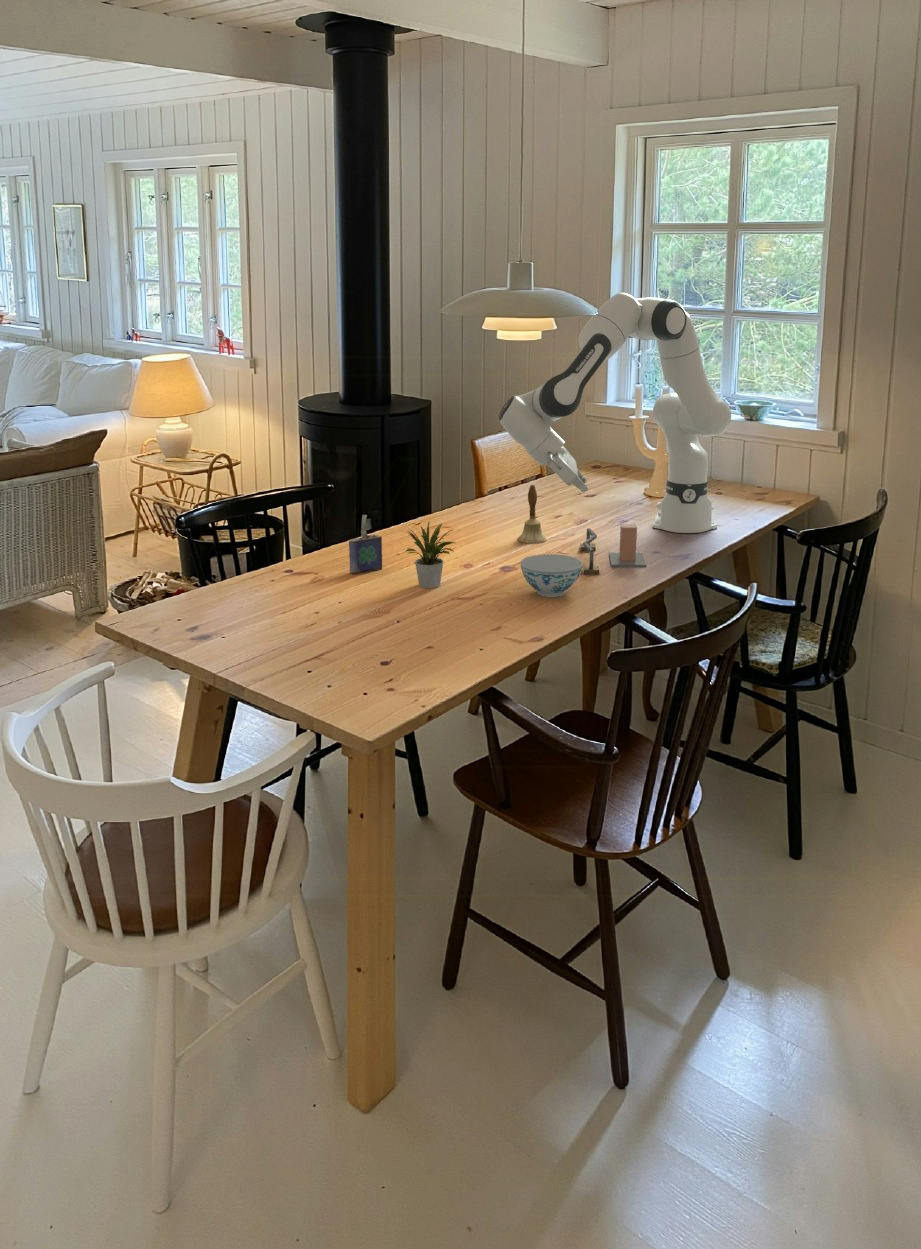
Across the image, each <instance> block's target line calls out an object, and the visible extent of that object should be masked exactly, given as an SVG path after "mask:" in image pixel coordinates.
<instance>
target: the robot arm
mask: <svg viewBox="0 0 921 1249" xmlns="http://www.w3.org/2000/svg"><path fill="white" fill-rule="evenodd" d="M596 311H597V312H598V314H596V315H594V314H592V315H591V317H590V318H589V319H588V320H587V321H586V323H585V325H584V326H583V328H582V330H581V331H580V334H579V336H578V339H577V340H578V346H579V349H580V351H579V352H578V353H577V355H576V356H575V357H574V358H573V360H572V361H571V362H570V364H569V365H568V366H567V367H566V369H565V370H564V371H563V372H561V373H560V374H557V375H555V376H552V377H550V379H549V380H547V381H546V382H545V383H543V384H542V385H540V386H539V387H537V388H535V389H533V390H531V391H528V392H526V393H523V394H519V395H513V396H511V397H510V398H508V400H507V401H506V402H505V404H503V406H502V408H501V409H500V412H499V415H498V421H499V423H500V424H501V426H502V427H503V429H504V430H505V432H507V434H508V435H510V437H511V438H512V439H513V440H514V442H516V443H518V444H520V445H521V446H522V447H523V448H524V449H525V452H526V453H527V454H528V455H529V456H530V457H531V459H533V460H534V461H535V462H536V463H537V464H538V465H539V466H540V467H543V466H545V465H546V466H547V467H548V468H551V469H552V471H553V472H554V474H556V475H557V476H558V477H559V478H560V480H562V481H563V482H564V483H565V485H567V486H571V485H573V486H574V487H576V488H577V489H579V491H580V492H581V493H583V494H585V493H586V492H587V491H588V490H589V487H588V485H587V484H586V483H587V479H586V478H587V477H585V476H584V475H583V474H582V472H581V471H580V470H579V469H578V465H577V461H576V459H575V458H574V457H573V455H572V454H571V453H570V452H569V450H568V449H567V448H566V447H565V446H564V445H565V444H566V441H565V440H564V439H563V438H562V437H561V436H560V435H559V434H558V433H557V432H556V431H555V430H554V429H553V428H552V427H551V426H552V424H553V422H555V421H558V420H559V419H561V418H564V417H567V416H570V415H571V414H573V413H574V412H575V411H576V410H577V409H578V407H579V405H580V403H581V399H582V397H583V392H584V390H585V387H586V385H587V384H588V383H589V381H590V380H591V379H592V377H593V376H594V375H595V373H596V372H597V371H598V369H599V368H600V367H601V366H602V364H603V363H605V362H607V361H608V360H609V359H611V358H612V357H613V356H614V355H615V354H616V353H617V352H618V351H619V350H620V349H621V347H622V346H623V345H624V344H625V343H626V341H627V340H628V339H629V338H630V339H632V338H634V339H637V340H641V341H656V342H657V348H658V349H657V350H658V355H659V361H660V365H661V369H662V371H661V372H662V375H663V379H664V381H665V383H666V384H667V386H668V387H669V388H670V389H672V390H673V391H674V392H670V393H664V394H662V395H660V396H659V397H657V399H656V401H655V403H654V405H653V408H652V416H653V420H654V422H655V423H656V425H657V426H658V427H659V429H660V430H661V431H662V433H663V436H664V439H665V442H666V443H665V444H666V446H667V452H668V478H667V480H666V484H665V496H663V498H662V499H661V501H658V502H657V503H656V504H657V507H656V508H657V510H658V511H659V512H658V513H656V516H655V519H654V521H653V523H652V528H654V529H659V530H664V531H667V532H671V533H679V534H697V533H704V532H707V531H709V530H714V529H717V528H718V524H716V523H715V522H714V521H713V520H712V518H713V517H712V515H713V513H712V512H713V511H712V510H713V501H712V500H711V498H709V497H708V493H709V492H708V491H709V481H708V467H709V466H708V465H709V464H708V463H709V455H708V453H707V451H706V449H704V448H703V446H702V445H701V443H700V441H699V438H698V436H701V437H714V436H720V435H722V434H724V433H725V432H726V431H727V430H728V429H729V427H730V425H731V421H732V411H731V407H730V406H729V404H727V402H726V401H724V400H723V399H722V398H721V397H720V396H719V395H718V393H717V392H716V391H715V389H714V388H713V385H712V384H711V383H710V380H709V379H708V377H707V374H706V372H705V368H704V364H703V360H702V354H701V349H700V344H699V339H698V336H697V331H696V329H695V326H694V323H693V320H692V318H691V316H690V314H689V313H688V312H686V310H685V309H684V307H683V305H682V304H681V303H680V302H678V301H675V300H673V299H669V298H666V299H665V298H660V297H651V296H650V297H639V298H638V297H635V296H632V295H631V294H628V293H627V292H626V293H625V292H619V293H618V292H617V293H616V294H614V295H612V296H611V297H610V298H608V299H607V300H606V301H605V302H604V303H603V304H602V305H601V306H600V307H599V308H598V309H597V310H596ZM596 311H595V312H594V313H596Z"/></svg>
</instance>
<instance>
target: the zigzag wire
mask: <svg viewBox="0 0 921 1249" xmlns="http://www.w3.org/2000/svg"><path fill="white" fill-rule="evenodd" d="M597 538H598V535H597V534H596V533H595V532H594V531H593V530H592V529H591V528H590V527H587V528H586V539H585V541H584V542H583V543H580V545H579V546H580V547H581V548H580V552H589V565H582V571H583V575H600V565H594V559H595V556H594V555H595V554H594V553H595V551H596V549H597V548H596V543H592V542H593V541H595V540H596V539H597Z"/></svg>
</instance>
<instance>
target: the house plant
mask: <svg viewBox="0 0 921 1249" xmlns="http://www.w3.org/2000/svg"><path fill="white" fill-rule="evenodd" d="M442 526H443V523H440V524H438V525H437V526H436V528H435V529H434V531H433V533H432V534H431V537H430V520H429V521H428V522H427V526H426V530H425V528H423V527H422V526H420V528H421V532H420V531H418V533H419V535H420V537H421V539H422V540H420V538H419V537H418V535H417V534H416V533H415V532H414V530H412V529H410V528H408V530H407V531H403V530H401V532H403V533H407V534H408V535H409V536H410V537H411V538H412V539H413V540H414V542H413V543H414V544H415V545H416V546H417V547H418V548H419V549H420V551H421V553H419V552H418V551H417V550H416V549H414V548H411V547H409V548H406V550H405V553H406V552H408V553H407V554H405V555H408V554H417V555H419V556H420V557H419V558H417V559H416V560H414V563H415V564H414V565H415V570H416V575H417V579H418V581H417V582H418V585H419V587H420V588H422V587H423V588H424V589H435V587H436V588H439V587H440V586H441V580H442V574H443V573H442V572H443V567H444V560H443V558H439V556H441V554H448V555H451V554H450V551H451V552H453V553H455V551H454V549H453V548H450V547H446V546H449V545H452V544H456V542H455V541H444V539H445V537H446V536H447V537H449V536H450V535H447V534H449V533H450V532H451V531H453V530H456V529H450V530H448V531H447V532H445V533H444V534H443V535H440V531H441V527H442ZM412 528H413V529H416V530H417V528H416V527H414V526H412ZM439 535H440V536H439ZM441 540H443V541H441ZM422 542H423V544H422ZM444 547H445V548H444Z"/></svg>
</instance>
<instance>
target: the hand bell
mask: <svg viewBox="0 0 921 1249" xmlns="http://www.w3.org/2000/svg"><path fill="white" fill-rule="evenodd" d="M537 500H538V492H537V489H536V486H535V484H531V485H530V486H529V488H528V492H527V502H528V505H529V519H527V520H525V521H524V526H523V530H522V532H521V534H520V535H519V536H518V538H517V540H518V542H520V543H524V544H528V545H529V544H533V545H534V544H542V543H545V542H546V541H547V537H546V536H545V534H543V532H542V527H541V521H540V520H538V519H537V517H536V504H537Z"/></svg>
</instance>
